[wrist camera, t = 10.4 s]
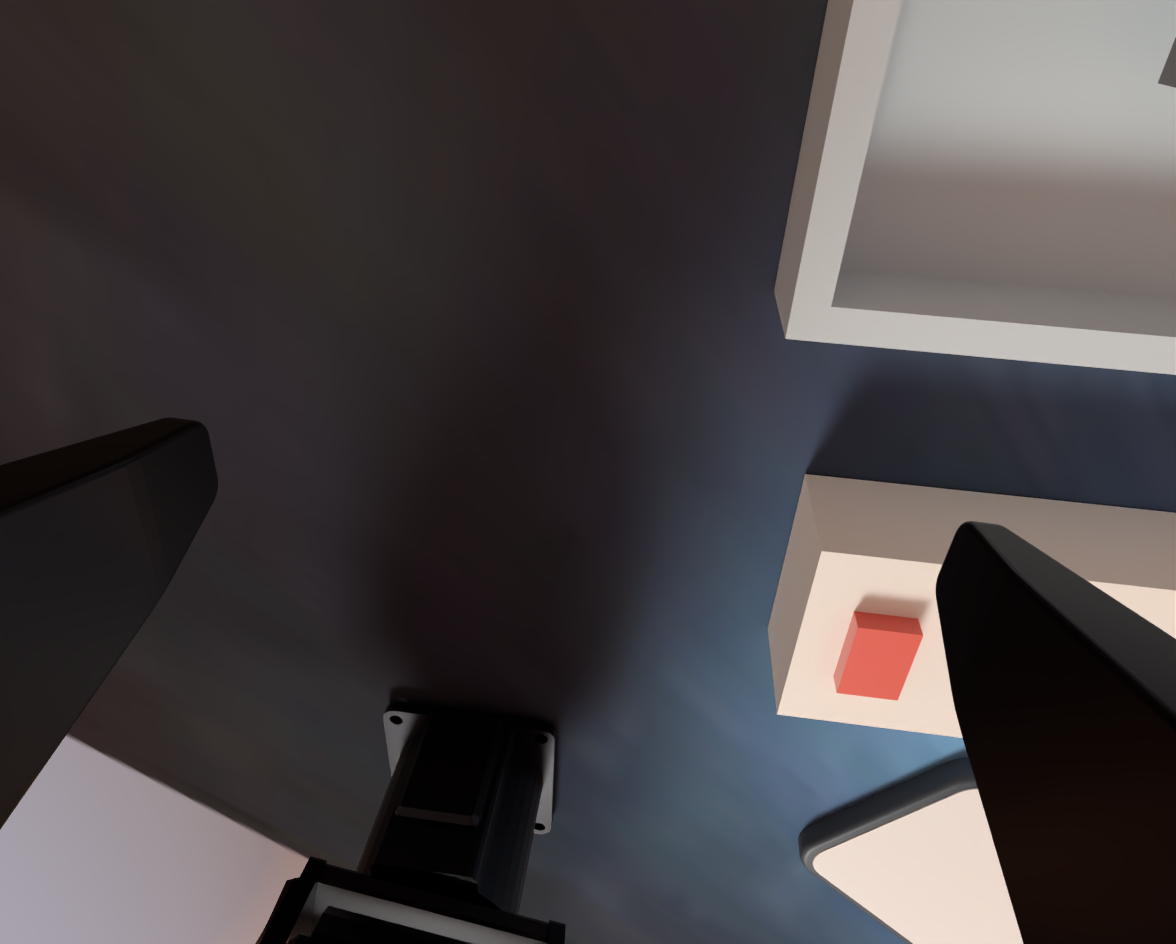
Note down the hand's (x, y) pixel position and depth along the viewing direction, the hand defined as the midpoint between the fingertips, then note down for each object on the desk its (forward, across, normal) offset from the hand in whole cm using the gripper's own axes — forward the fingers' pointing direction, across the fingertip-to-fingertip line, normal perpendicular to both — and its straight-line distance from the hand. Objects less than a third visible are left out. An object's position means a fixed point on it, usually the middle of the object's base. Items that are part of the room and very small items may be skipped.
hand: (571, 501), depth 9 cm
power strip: (+12, -19, +8) cm, 24 cm away
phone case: (+13, -18, +24) cm, 33 cm away
